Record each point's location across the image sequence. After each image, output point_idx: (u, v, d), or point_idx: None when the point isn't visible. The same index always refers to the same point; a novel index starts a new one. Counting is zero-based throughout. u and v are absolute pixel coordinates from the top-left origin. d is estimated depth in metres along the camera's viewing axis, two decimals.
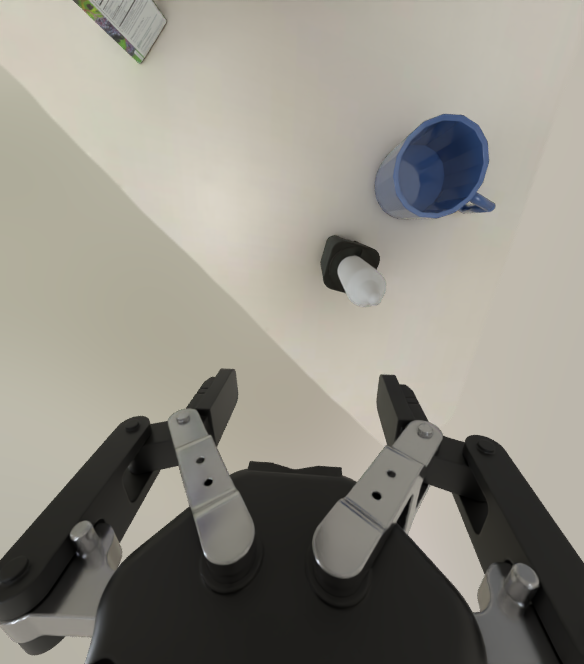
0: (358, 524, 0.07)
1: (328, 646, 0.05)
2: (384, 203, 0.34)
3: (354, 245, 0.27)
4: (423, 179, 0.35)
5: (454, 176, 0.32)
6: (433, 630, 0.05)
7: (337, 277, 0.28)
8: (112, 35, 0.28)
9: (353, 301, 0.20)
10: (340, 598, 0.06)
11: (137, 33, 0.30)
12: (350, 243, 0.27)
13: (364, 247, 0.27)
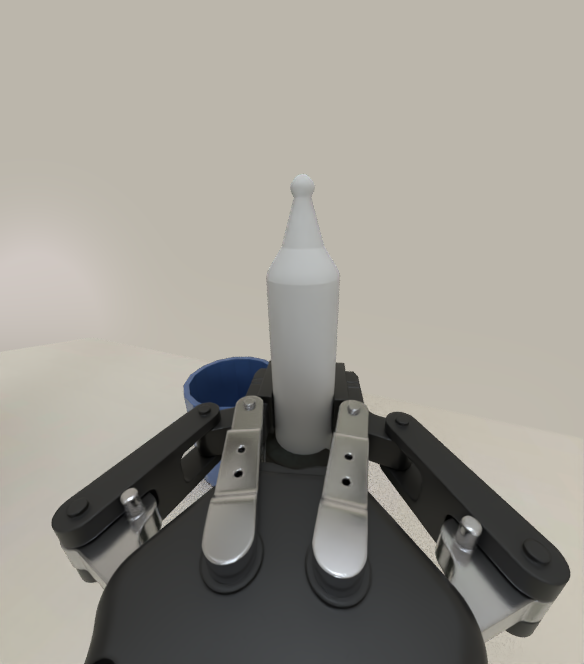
0: (358, 524, 0.07)
1: (328, 646, 0.05)
2: None
3: None
4: None
5: None
6: (433, 630, 0.05)
7: (309, 456, 0.13)
8: None
9: (321, 273, 0.10)
10: (340, 598, 0.06)
11: None
12: None
13: None
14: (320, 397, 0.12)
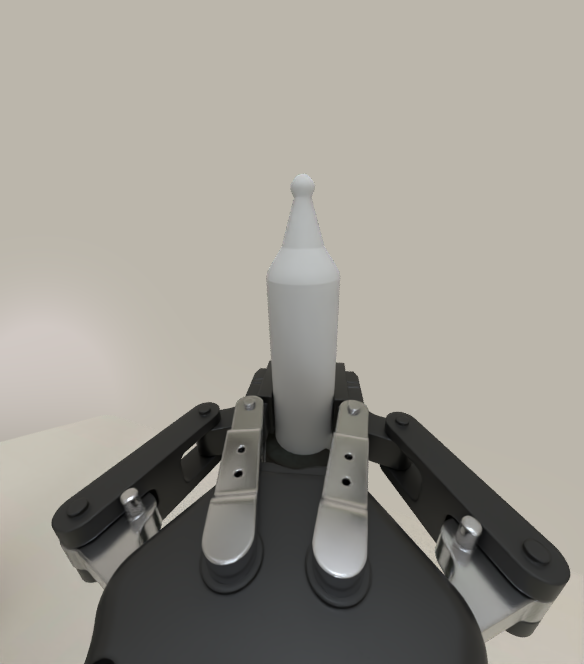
0: (358, 524, 0.07)
1: (328, 646, 0.05)
2: None
3: None
4: None
5: None
6: (433, 630, 0.05)
7: (309, 457, 0.13)
8: None
9: (321, 273, 0.10)
10: (340, 598, 0.06)
11: None
12: None
13: None
14: (321, 397, 0.12)
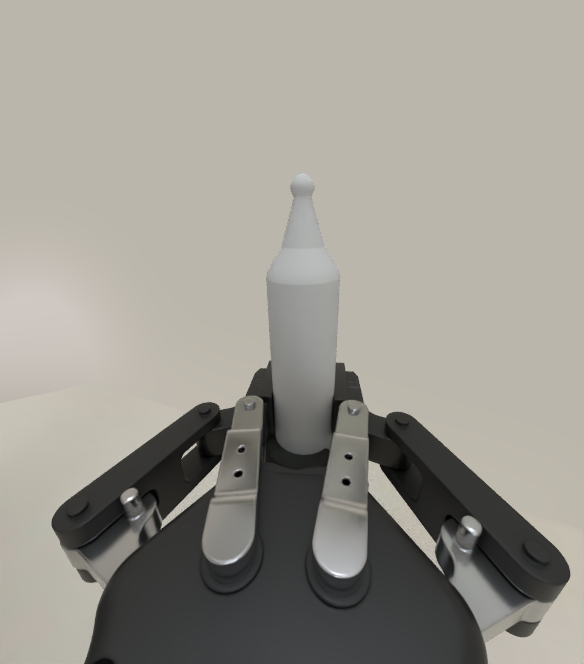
0: (358, 524, 0.07)
1: (328, 646, 0.05)
2: None
3: None
4: None
5: None
6: (433, 630, 0.05)
7: (309, 456, 0.13)
8: None
9: (321, 272, 0.10)
10: (340, 598, 0.06)
11: None
12: None
13: None
14: (320, 397, 0.12)
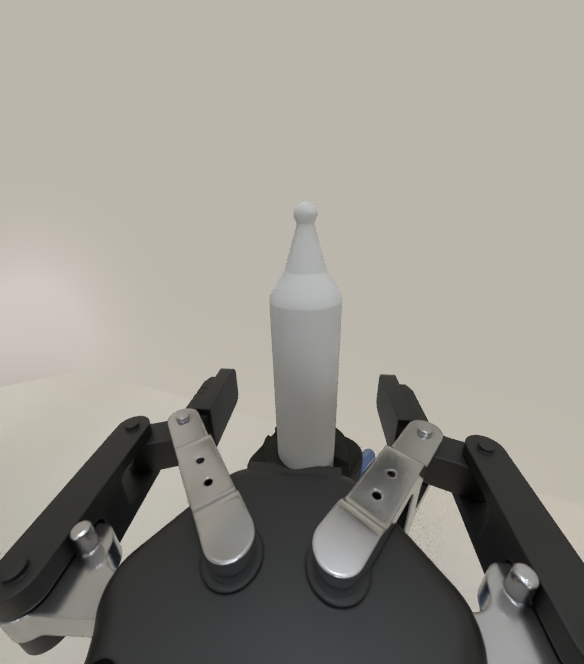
0: (358, 524, 0.07)
1: (328, 646, 0.05)
2: None
3: None
4: None
5: None
6: (433, 630, 0.05)
7: None
8: None
9: (324, 298, 0.10)
10: (340, 598, 0.06)
11: None
12: (259, 449, 0.15)
13: (275, 433, 0.16)
14: (323, 417, 0.12)
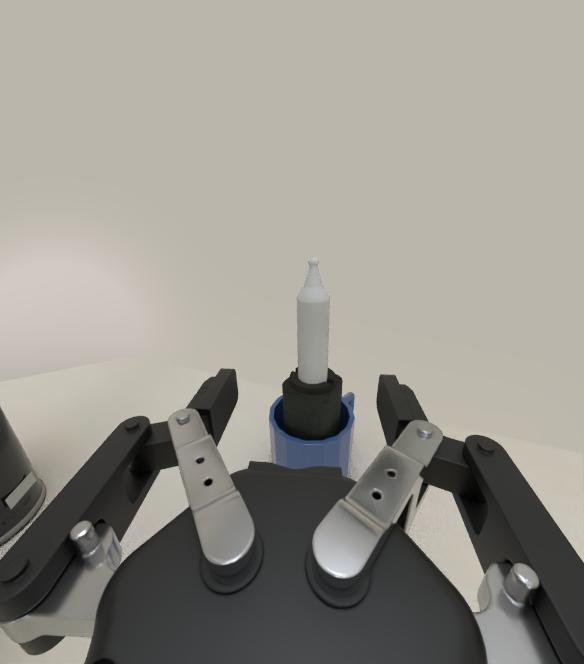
0: (358, 524, 0.07)
1: (328, 647, 0.05)
2: None
3: None
4: None
5: None
6: (433, 630, 0.05)
7: (316, 384, 0.26)
8: None
9: (321, 297, 0.23)
10: (340, 598, 0.06)
11: None
12: None
13: (295, 372, 0.29)
14: (321, 354, 0.25)
